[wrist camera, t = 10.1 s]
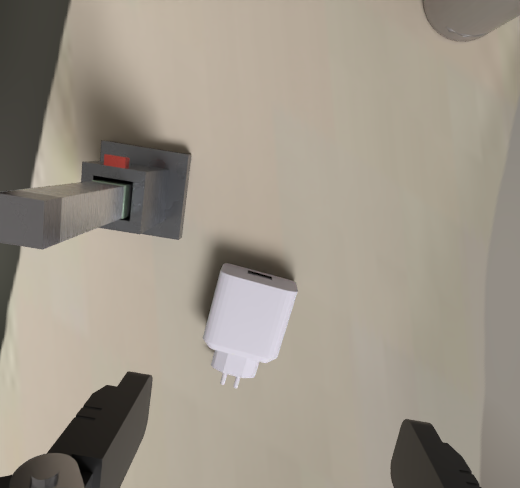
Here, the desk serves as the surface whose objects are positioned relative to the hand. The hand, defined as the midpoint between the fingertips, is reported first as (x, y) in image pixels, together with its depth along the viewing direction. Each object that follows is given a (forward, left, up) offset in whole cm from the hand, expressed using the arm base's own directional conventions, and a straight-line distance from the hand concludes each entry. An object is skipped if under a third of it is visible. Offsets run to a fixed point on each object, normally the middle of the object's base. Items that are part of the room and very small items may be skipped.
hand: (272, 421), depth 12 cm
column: (-2, -16, -29) cm, 33 cm away
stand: (-2, -16, -36) cm, 39 cm away
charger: (+13, -1, -36) cm, 39 cm away
